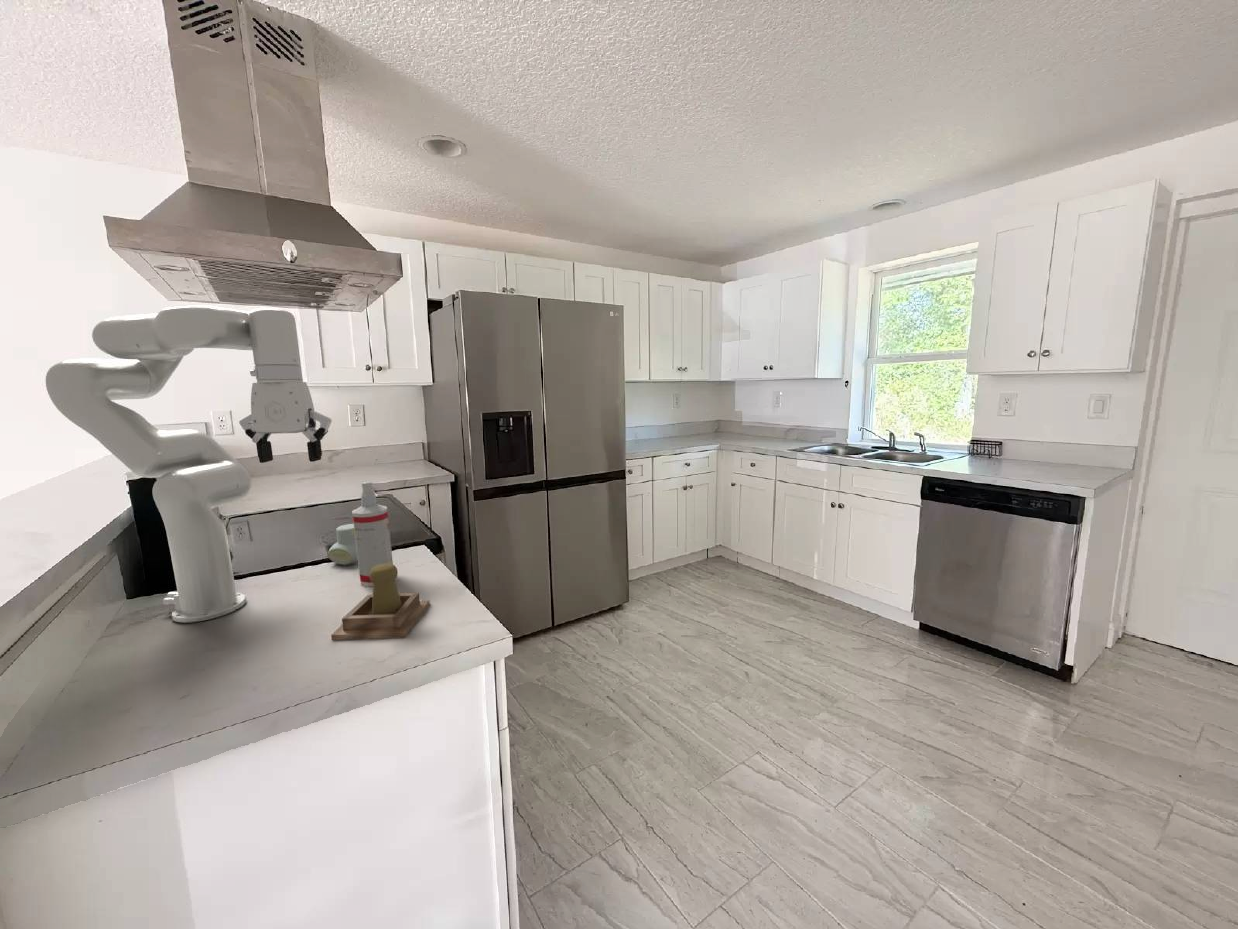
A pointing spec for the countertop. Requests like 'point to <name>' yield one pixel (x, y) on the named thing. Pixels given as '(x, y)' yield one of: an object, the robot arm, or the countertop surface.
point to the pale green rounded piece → (344, 546)
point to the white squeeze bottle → (371, 534)
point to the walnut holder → (381, 619)
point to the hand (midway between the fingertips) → (291, 461)
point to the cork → (385, 590)
